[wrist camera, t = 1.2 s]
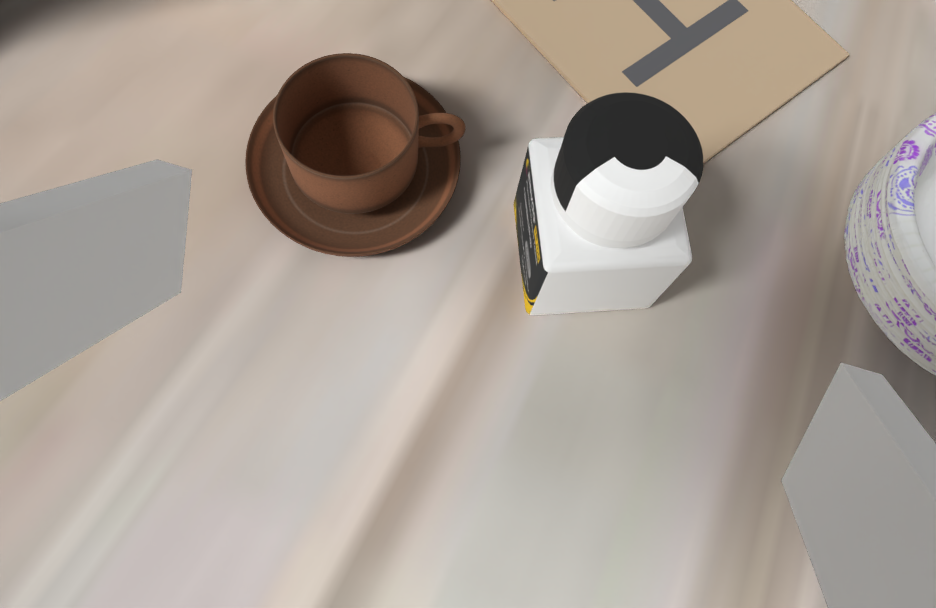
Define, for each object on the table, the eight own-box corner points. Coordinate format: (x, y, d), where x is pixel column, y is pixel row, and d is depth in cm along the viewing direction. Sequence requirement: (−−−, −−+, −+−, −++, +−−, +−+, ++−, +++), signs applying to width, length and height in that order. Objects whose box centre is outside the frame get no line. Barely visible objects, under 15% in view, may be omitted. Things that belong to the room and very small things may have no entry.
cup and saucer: (404, 59, 45) (401, -14, 39) (494, 215, 42) (505, 162, 36) (222, 130, 43) (190, 64, 37) (302, 302, 40) (281, 260, 34)
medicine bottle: (512, 201, 42) (544, 74, 31) (631, 195, 43) (705, 67, 31) (525, 317, 40) (564, 225, 29) (651, 310, 40) (738, 216, 29)
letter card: (444, -50, 48) (444, -55, 47) (621, -151, 52) (623, -157, 51) (668, 189, 43) (670, 185, 43) (846, 58, 47) (849, 54, 46)
